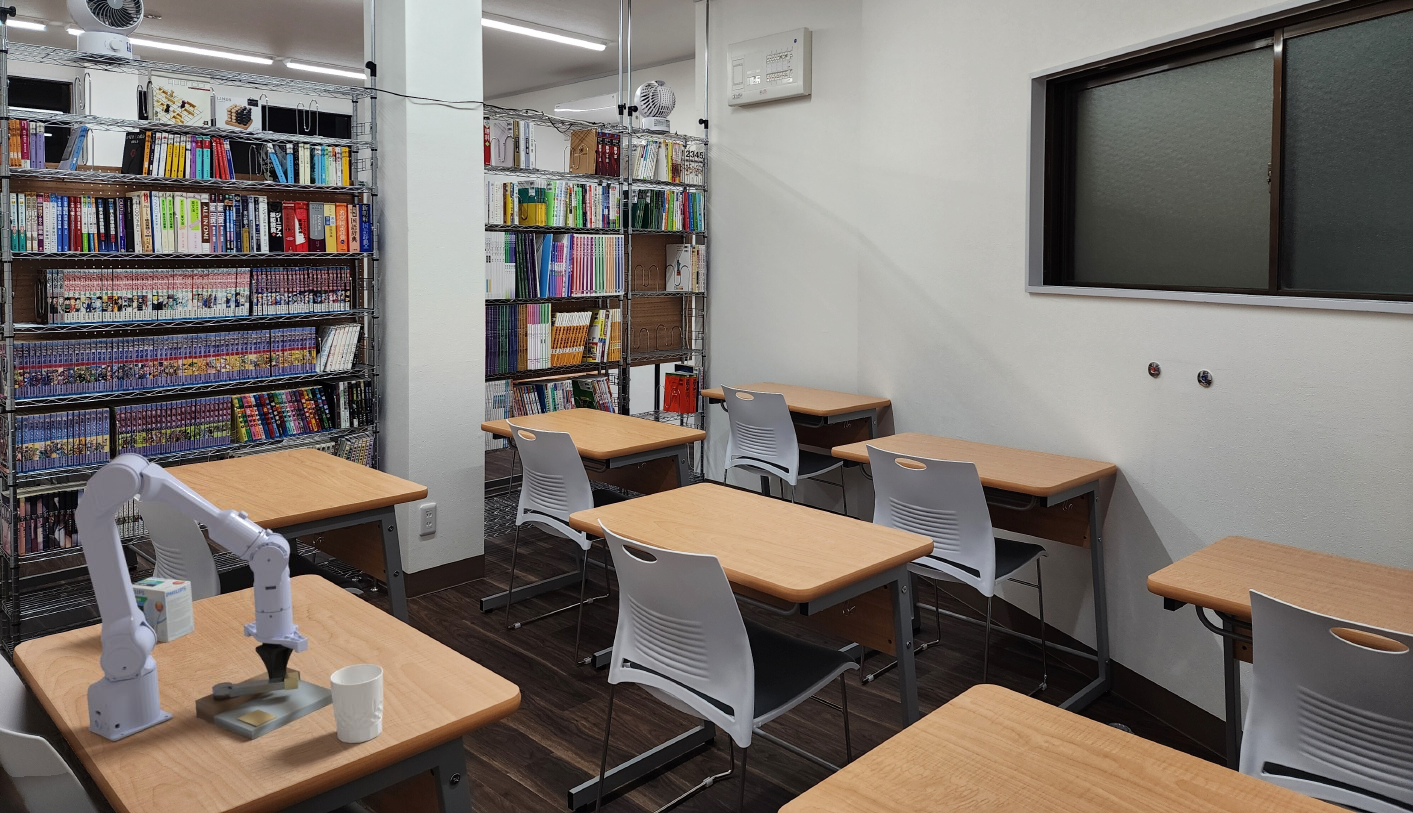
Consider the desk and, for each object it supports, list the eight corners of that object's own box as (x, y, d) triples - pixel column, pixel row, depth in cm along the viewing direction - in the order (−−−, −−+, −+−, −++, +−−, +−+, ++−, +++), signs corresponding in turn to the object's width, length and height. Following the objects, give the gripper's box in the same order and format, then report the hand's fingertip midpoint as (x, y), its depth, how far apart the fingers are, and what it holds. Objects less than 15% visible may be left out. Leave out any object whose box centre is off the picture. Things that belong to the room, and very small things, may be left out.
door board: (252, 739, 146) (251, 721, 146) (196, 717, 154) (195, 699, 154) (338, 700, 160) (337, 683, 160) (283, 681, 168) (281, 665, 167)
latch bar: (211, 701, 153) (210, 689, 152) (214, 693, 155) (213, 682, 155) (297, 689, 157) (297, 678, 157) (298, 682, 160) (298, 671, 160)
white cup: (334, 726, 151) (330, 667, 149) (385, 718, 153) (382, 660, 152) (333, 749, 143) (329, 688, 142) (387, 740, 146) (383, 680, 145)
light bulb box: (127, 637, 189) (122, 586, 187) (155, 625, 195) (151, 576, 194) (169, 643, 186) (164, 591, 184) (196, 630, 192) (192, 580, 191)
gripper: (321, 607, 157) (326, 683, 159) (268, 592, 164) (272, 665, 166) (284, 620, 151) (289, 699, 153) (230, 604, 158) (235, 680, 160)
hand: (278, 683), depth 159 cm, fingers closed, pressing on latch bar
